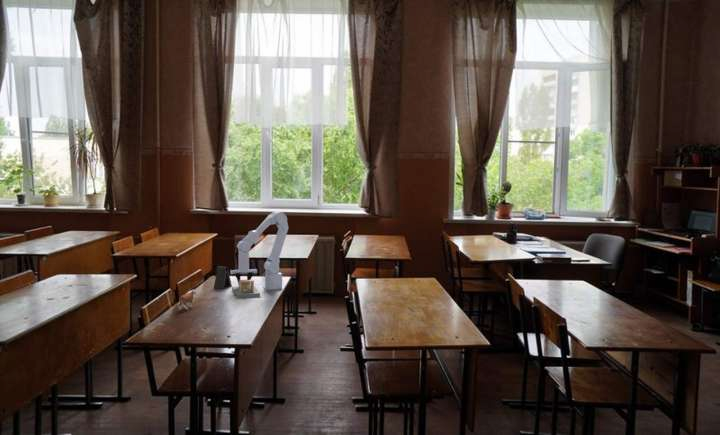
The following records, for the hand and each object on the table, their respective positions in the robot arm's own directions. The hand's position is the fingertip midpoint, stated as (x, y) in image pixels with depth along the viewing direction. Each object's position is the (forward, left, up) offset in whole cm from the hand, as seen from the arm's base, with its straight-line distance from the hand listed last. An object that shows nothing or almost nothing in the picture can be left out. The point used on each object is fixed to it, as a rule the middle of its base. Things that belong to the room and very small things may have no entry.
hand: (243, 286), depth 324 cm
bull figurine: (+32, +30, -3) cm, 44 cm away
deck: (0, +7, -2) cm, 8 cm away
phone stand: (+10, -12, -3) cm, 16 cm away
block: (0, +5, 0) cm, 5 cm away
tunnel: (0, +9, 0) cm, 9 cm away
